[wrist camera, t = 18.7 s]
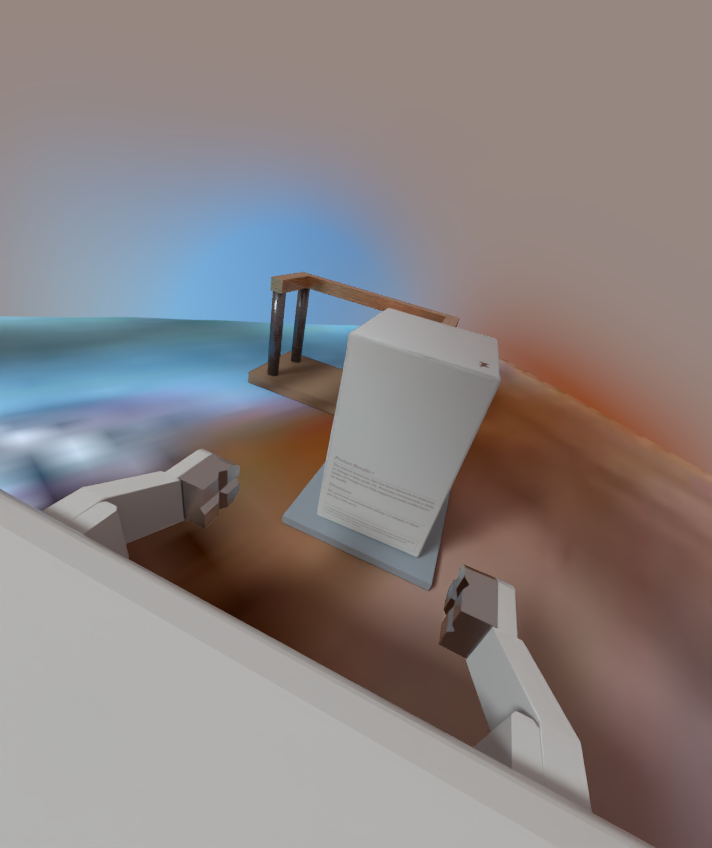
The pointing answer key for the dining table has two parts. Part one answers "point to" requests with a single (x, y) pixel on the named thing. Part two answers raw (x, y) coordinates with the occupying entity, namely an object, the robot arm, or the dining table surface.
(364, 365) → the supplement box
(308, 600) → the dining table surface
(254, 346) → the dining table surface
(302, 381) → the brown board
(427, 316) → the wooden post stand
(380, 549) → the mat
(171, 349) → the dining table surface
